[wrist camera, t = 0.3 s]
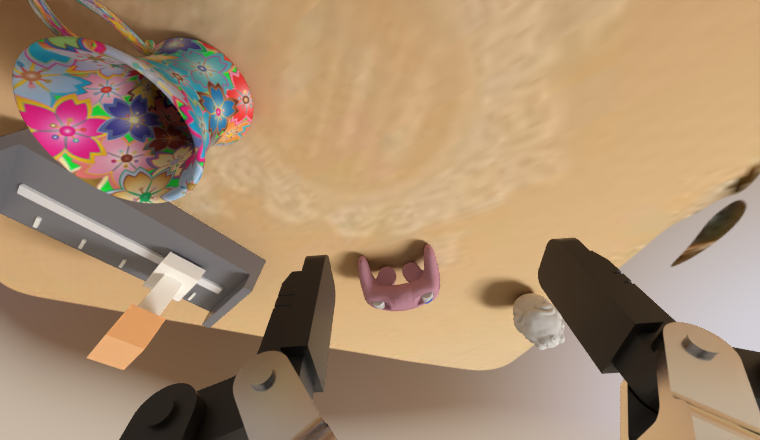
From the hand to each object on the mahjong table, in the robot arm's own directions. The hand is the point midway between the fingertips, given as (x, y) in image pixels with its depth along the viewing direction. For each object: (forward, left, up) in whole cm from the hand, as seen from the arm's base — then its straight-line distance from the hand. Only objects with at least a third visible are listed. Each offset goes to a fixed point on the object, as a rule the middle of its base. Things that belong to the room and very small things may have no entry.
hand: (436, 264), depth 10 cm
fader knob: (+16, -25, -15) cm, 34 cm away
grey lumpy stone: (+26, +20, -19) cm, 38 cm away
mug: (-3, -17, -19) cm, 26 cm away
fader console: (+13, -28, -19) cm, 36 cm away
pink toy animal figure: (+18, +1, -19) cm, 27 cm away
